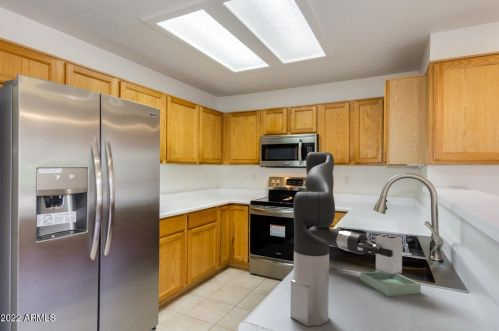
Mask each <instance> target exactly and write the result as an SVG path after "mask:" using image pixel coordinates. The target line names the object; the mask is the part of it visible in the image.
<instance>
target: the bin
mask: <svg viewBox="0 0 499 331" xmlns="http://www.w3.org/2000/svg"><path fill="white" fill-rule="evenodd" d="M360 282H361V283H363V284H365V285H366V286H369V287H370V288H372V289H373V290H375V291H377V292H378V293H380V294H382V295H384V296H385V297H397V296H405V295H406V296H407V295H414V294H415V295H416V294H421V292H422V290H421V289H422V288H421V287H422V286H421V285H422V284H421V282H417V281H415V280H413V279H411V278H408V277H407V276H404V275H402V274H401V273H400V274H398V275H395V276H391V275H388V274H384V273H381V272H378V271H376V270H375V271H367V272H360Z"/></svg>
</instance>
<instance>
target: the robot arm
mask: <svg viewBox="0 0 499 331" xmlns="http://www.w3.org/2000/svg"><path fill="white" fill-rule="evenodd" d="M305 160H306V161H305V169H306V170H305V172H306V176H305V182H304V184H305V185H304V187H305V190H306V191H298V192H296V193H295V195H294V197H293V205H292V206H293V207H292V208H293V230H294V231H293V232H294V233H293V235H294V236H293V237H294V239H293V246H294V247H293V279H292V280H290V311H289V312H290V317H291V318H292V319H294V320H295V321H297V322H299V323H301V325H304V326H306V327H310V326H323V325H324V324H327V323H328V321H329V306H330V304H329V296H330V294H329V290H330V289H329V288H330V281H329V280H330V279H329V278H330V277H329V275H330V246H332V247H335V248H338V249H342V250H344V251H346V252H352V253H354V254H359V255H363V254H364V255H365V254H366V255H370V256H376V255H383V256H387V257H392V251H391V250H388V249H383V248H380V247H376V239H368V237H367V235H366V234H364V233H360V232H355V231H350V230H342V229H337V228H330V226H331V225H332V224H333V223H334V222H335V221H334V220H335V217H336V204H335V203H336V202H335V197H334V196H335V195H334V184H335V183H334V182H335V181H334V179H335V178H334V170H335V169H334V168H335V158H334V155H333V154H332V153H331V152H327V151H324V152H323V151H317V152H316V151H311V152H310V151H309V152H308V153H307V155H306V157H305ZM307 227H309V228H308V229H307Z"/></svg>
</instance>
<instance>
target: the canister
mask: <svg viewBox="0 0 499 331" xmlns="http://www.w3.org/2000/svg"><path fill="white" fill-rule="evenodd" d="M375 241H376V247H380V248H383V249H388V250H391V251H392V257H387V256H383V255H376V254H375V272H376V271H378V272H381V273H384V274H388V275H391V276H395V275H398V274H400V275H401V274H402V273H403V237H402V236H396V235H392V234H385V233H384V234H380V235H376V236H375Z"/></svg>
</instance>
